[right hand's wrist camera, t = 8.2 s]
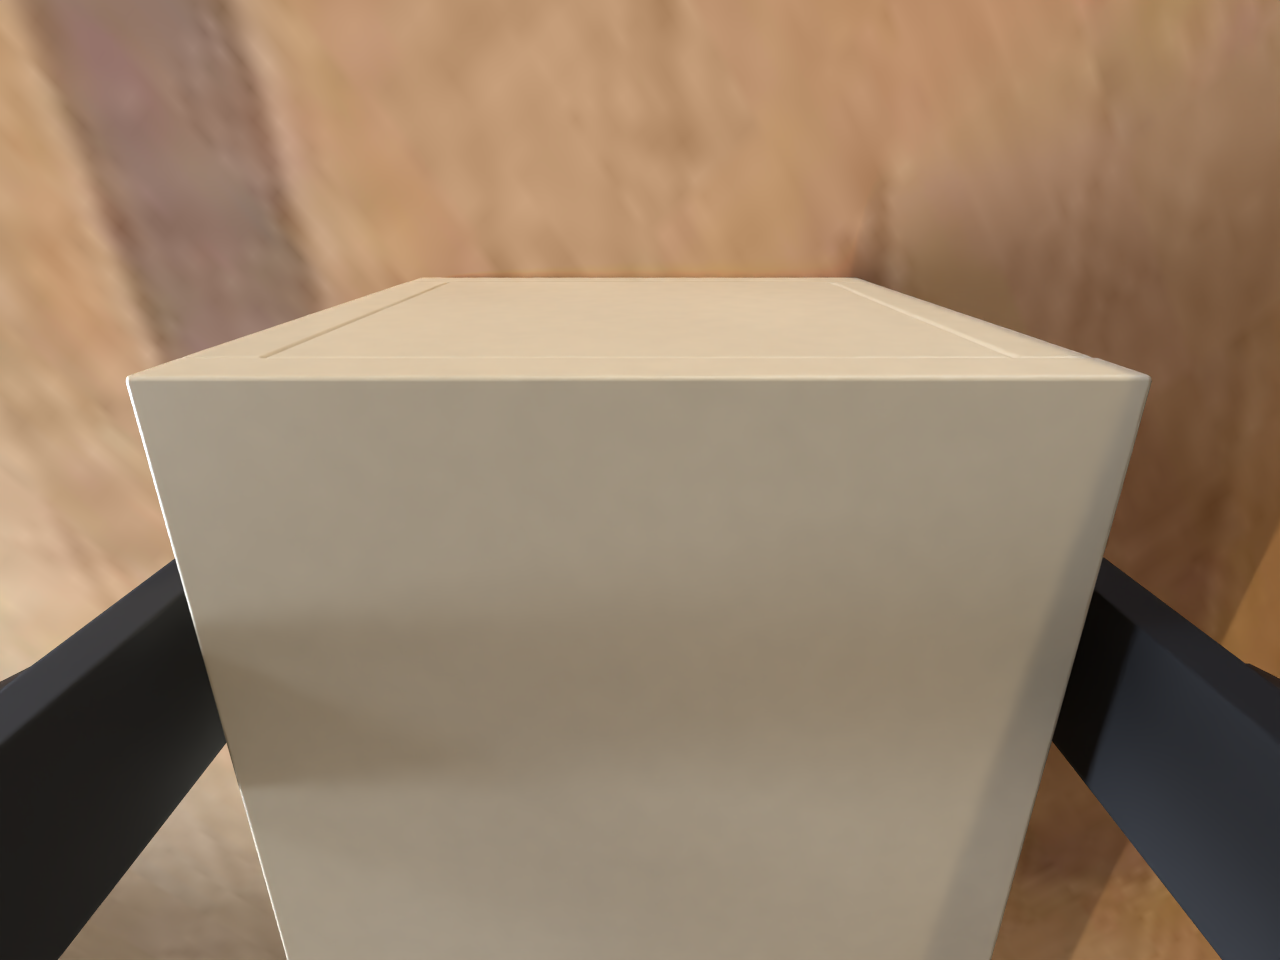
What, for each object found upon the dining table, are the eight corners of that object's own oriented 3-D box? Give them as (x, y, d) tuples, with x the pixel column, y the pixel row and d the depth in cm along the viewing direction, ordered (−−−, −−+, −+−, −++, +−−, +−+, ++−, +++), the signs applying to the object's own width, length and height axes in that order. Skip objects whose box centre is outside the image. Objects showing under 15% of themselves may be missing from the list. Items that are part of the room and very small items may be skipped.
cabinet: (794, 854, 26) (899, 1294, 15) (484, 854, 26) (379, 1295, 15) (859, 277, 18) (1156, 376, 8) (418, 277, 18) (120, 375, 8)
